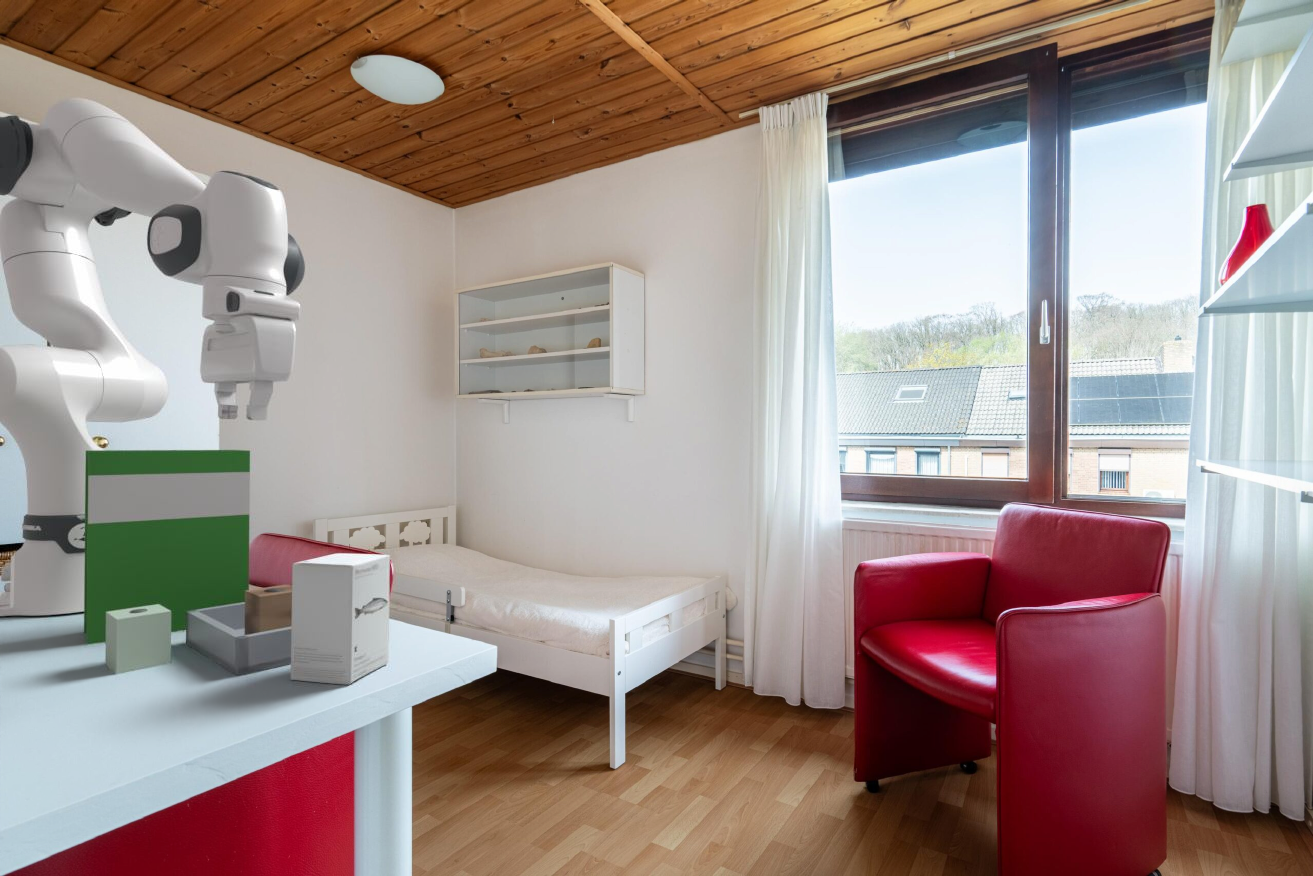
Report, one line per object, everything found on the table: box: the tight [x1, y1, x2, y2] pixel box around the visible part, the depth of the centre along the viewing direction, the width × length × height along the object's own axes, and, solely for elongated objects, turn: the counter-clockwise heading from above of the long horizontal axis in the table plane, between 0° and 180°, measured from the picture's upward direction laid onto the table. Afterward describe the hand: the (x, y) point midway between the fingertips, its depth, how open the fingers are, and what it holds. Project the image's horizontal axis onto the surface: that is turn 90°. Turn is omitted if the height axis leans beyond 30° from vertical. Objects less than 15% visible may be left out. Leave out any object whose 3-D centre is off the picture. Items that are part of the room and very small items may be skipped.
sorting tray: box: [185, 602, 292, 677], centre depth 86 cm, size 18×14×4 cm
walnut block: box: [245, 584, 292, 635], centre depth 86 cm, size 5×5×6 cm
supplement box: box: [290, 552, 391, 686], centre depth 77 cm, size 7×7×13 cm
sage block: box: [104, 604, 172, 675], centre depth 79 cm, size 5×5×6 cm
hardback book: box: [83, 449, 251, 645], centre depth 95 cm, size 18×7×24 cm, turn 132°
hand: (241, 419), depth 85 cm, fingers open, 8 cm apart
